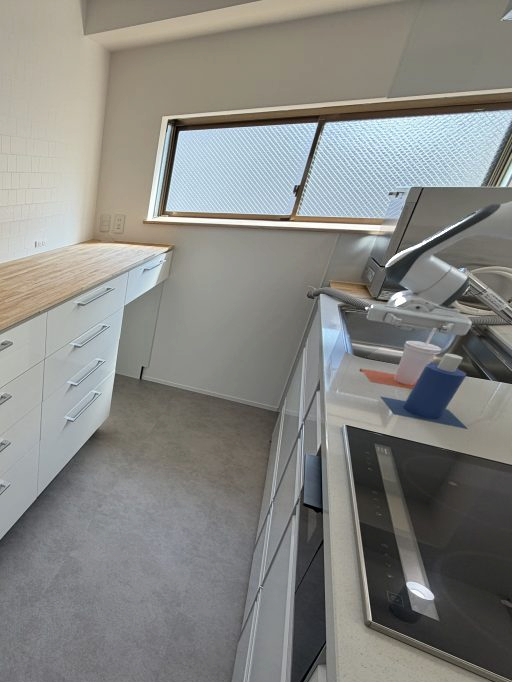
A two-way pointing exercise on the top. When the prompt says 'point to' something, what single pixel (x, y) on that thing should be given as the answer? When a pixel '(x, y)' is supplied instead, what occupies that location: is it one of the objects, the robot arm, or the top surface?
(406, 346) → the smoothie
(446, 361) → the blue bottle
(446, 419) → the blue mat
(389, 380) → the terracotta mat
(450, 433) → the top surface
